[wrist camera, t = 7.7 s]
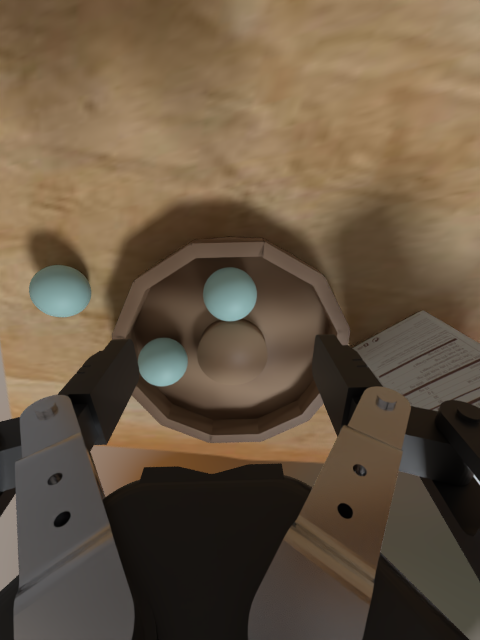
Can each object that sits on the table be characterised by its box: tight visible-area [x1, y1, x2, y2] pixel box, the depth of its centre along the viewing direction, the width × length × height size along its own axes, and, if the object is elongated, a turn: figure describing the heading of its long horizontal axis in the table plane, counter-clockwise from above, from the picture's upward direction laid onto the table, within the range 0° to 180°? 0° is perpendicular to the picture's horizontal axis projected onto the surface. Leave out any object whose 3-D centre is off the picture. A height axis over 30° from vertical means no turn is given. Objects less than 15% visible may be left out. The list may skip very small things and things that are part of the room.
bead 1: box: [29, 265, 91, 317], centre depth 21 cm, size 4×4×4 cm
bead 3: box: [203, 267, 257, 321], centre depth 20 cm, size 4×4×4 cm
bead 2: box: [138, 338, 188, 386], centre depth 23 cm, size 4×4×4 cm
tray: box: [112, 237, 350, 443], centre depth 24 cm, size 19×19×3 cm
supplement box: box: [352, 311, 480, 485], centre depth 21 cm, size 7×7×13 cm
